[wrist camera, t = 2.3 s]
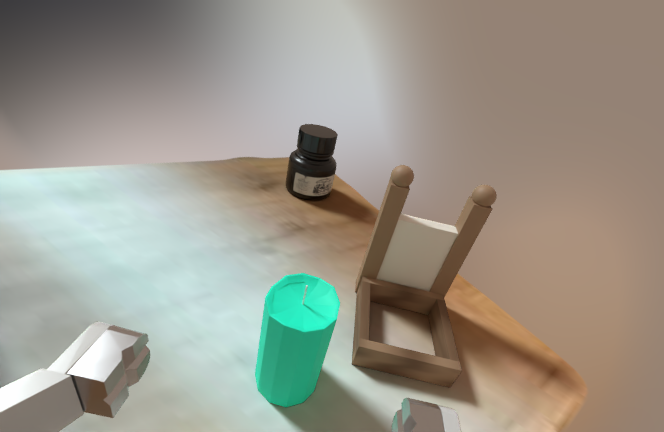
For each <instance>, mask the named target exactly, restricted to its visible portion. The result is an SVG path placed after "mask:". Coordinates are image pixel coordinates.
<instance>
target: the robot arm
mask: <svg viewBox="0 0 664 432" xmlns="http://www.w3.org/2000/svg"><path fill="white" fill-rule="evenodd" d="M148 341H149V340H148V335H147V334H145V333H141V332H137V331H133V330H129V329H125V328H121V327H117V326H115V325H111V324H106V323H102V322H98V321H97V322H95V323H93V324H92V325H90V326H89V327H88V328H87V329H86V330H85V331H84V332H83V333H82V334H81V335H80V336H79V337H78V338H77V339H76V340H75V341H74V342H73V343H72V344H71V345H70V346H69V347H68V348H67V349H66V350H65V351H64V352H63V353H62V354H61V355H60V356H59V357H58V358H57V359H56V361H55V362H54V363H53V364H52V365H51V366H50V367H49V368H48V369H43V368H41V369H39V370H37V371H35V372H33V373H31V374H29V375H27V376H24V377H22V378H20V379H18V380H16V381H14V382H12V383H10V384H8V385H6V386H4V387H2V388H0V432H59V431H60V430H62V429H63V428H65V427H66V426H67V425H69V424H70V423H72V422H73V421H75V420H76V419H77V418H79V417H80V416H82V415H83V414H84V412H86V413H91V414H96V415H100V416H105V417H110V418H114V417H115V415H116V414H117V412H118V411H119V409H120V408H121V406H122V405H123V404H124V402H125V401H126V399H127V398H128V396H129V387H130V386H132V385H133V384H135V383H137V382H138V381H139V380H140V378H141V377H142V375H143V374H144V372H145V370H146V368H147V366H148V363H149V360H150V350H149V349H148V348H147V346H146V344H147V342H148ZM391 432H461V428H460V423H459V418H458V414H457V412H456V411H455V410H454V409H452V408H448V407H443V406H439V405H437V404H432V403H428V402H423V401H419V400H414V399H410V398H405V399H404V400H403V402H402V409H401V410H398V411H397V412H396V414H395V416H394V419H393V423H392V431H391Z"/></svg>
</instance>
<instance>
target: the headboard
mask: <svg viewBox="0 0 664 432" xmlns="http://www.w3.org/2000/svg"><path fill="white" fill-rule="evenodd" d="M413 178H414V174H413V171H412V170H411V168H409V167H408V166H405V165H400V166H397V167H396V168H395V169H394V170H393V171H392V173H391V177H390V180H389V184H388V187H387V190H386V193H385V196H384V199H383V202H382V205H381V208H380V211H379V214H378V217H377V220H376V223H375V226H374V229H373V232H372V235H371V238H370V241H369V244H368V247H367V250H366V253H365V256H364V259H363V262H362V265H361V268H360V271H359V274H358V277H357V280H356V288H355V292H357V291H358V288H359V285H360V282H361V279H362V276H366V277H370V278H374V279H379V280H383V281H387V282H391V283H395V284H400V285H404V286H408V287H412V288H416V289H421V290H425V291H429V292H433V293H437V294H442V295H443V296H444V297H445V295H446V293H447V291H448V289H449V288H450V286H451V284H452V282H453V280H454V278H455V277H456V275H457V273H458V271H459V269H460V267H461V266H462V264H463V262H464V260H465V258H466V256H467V255H468V253H469V251H470V249H471V247H472V245H473V244H474V242H475V240H476V238H477V236H478V234H479V233H480V231H481V229H482V227H483V225H484V224H485V222H486V220H487V218H488V216H489V214H490V213H491V211H492V208H491V205H492V204H493V203H494V202H495V200H496V192H495V190H494V189H493V188H492V187H490V186H488V185H480V186H478V187H476V189H474V191H473V193H472V197H469V198H468V200H467V202H466V204H465V206H464V209H463V210H462V212H461V215H460V216H459V218H458V220H457V223H456V224H455V226H451V225H447V224H442V223H438V222H434V221H429V220H426V219H421V218H417V217H413V216H409V215H405V214H401V211H402V208H403V206H404V203H405V200H406V198H407V195H408V192H409V190H410V189H409V185H410V184H411V183H412V181H413Z"/></svg>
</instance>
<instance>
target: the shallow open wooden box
mask: <svg viewBox="0 0 664 432" xmlns="http://www.w3.org/2000/svg"><path fill="white" fill-rule="evenodd" d="M370 301H372V302H376V303H380V304H384V305H388V306H393V307H397V308H401V309H405V310H409V311H414V312H418V313H422V314H426V315H428V316H429V322H430V327H431V333H432V339H433V344H434V350H435V356H433V355H429V354H425V353H420V352H416V351H412V350H408V349H404V348H399V347H395V346H391V345H387V344H383V343H378V342H374V341H370V340H369V315H370ZM352 364H353V365H357V366H361V367H365V368H370V369H374V370H378V371H382V372H387V373H391V374H395V375H399V376H403V377H408V378H412V379H416V380H420V381H424V382H429V383H433V384H437V385H441V386H445V387H451V386H452V384H453V383H454V381H455V380H456V378H457V377H458V376H459V374H460V373H461V371H462V369H461V365H460V361H459V357H458V353H457V349H456V345H455V341H454V337H453V332H452V328H451V324H450V320H449V316H448V312H447V308H446V304H445V300H444V296H443V295H442V294H437V293H433V292H429V291H425V290H421V289H416V288H412V287H408V286H404V285H400V284H395V283H391V282H387V281H383V280H379V279H374V278H370V277H366V276H362V279H361V282H360V285H359V288H358V291H357V300H356V314H355V327H354V341H353V354H352Z"/></svg>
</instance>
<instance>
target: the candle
mask: <svg viewBox="0 0 664 432" xmlns="http://www.w3.org/2000/svg"><path fill="white" fill-rule="evenodd" d="M339 306H340V302H339V299H338V296H337V294H336V291H335V288H334V287H333V286H332V285H330V284H328V283H327V282H325V281H324V280H322V279H321V278H318V277H314V276H311V275H308V274H305V273H300V274H293V275H286V276H284V277H283V278H282V279H281V280H279V281H278V282H277V283H276V284H274V285H273V286H272V287H271V289H270V290H269V292H268V294H267V296H266V298H265V305H264V313H263V320H262V327H261V335H260V342H259V349H258V357H257V364H256V372H255V376H256V382H257V388H258V391H259V392H260V393H261V394H262V395H263V396H264V397H265V398H266V399H267V401H268V402H269V403H273V404H276V405H280V406H283V407H289V406H293V405H297V404H300V403H303V402H304V401H305V400H306V399H307V398H308V397H309V396H310V395H311V394H312V393H313V392H314V390H315V387H316V383H317V380H318V377H319V374H320V371H321V368H322V364H323V361H324V358H325V355H326V352H327V349H328V345H329V342H330V339H331V336H332V333H333V330H334V326H335V323H336V320H337V316H338V311H339Z"/></svg>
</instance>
